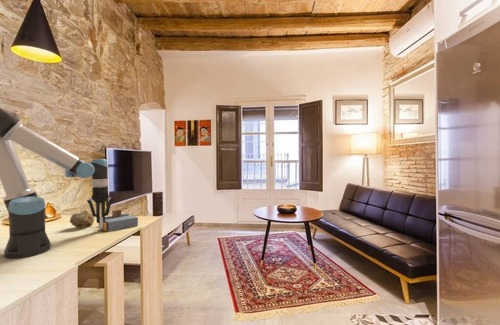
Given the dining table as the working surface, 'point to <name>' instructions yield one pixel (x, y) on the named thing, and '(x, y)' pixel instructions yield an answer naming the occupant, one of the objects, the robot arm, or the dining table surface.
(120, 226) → the dock block
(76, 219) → the rock
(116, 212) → the peg
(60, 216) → the dining table surface
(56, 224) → the dining table surface
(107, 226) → the lock pin
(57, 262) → the dining table surface
